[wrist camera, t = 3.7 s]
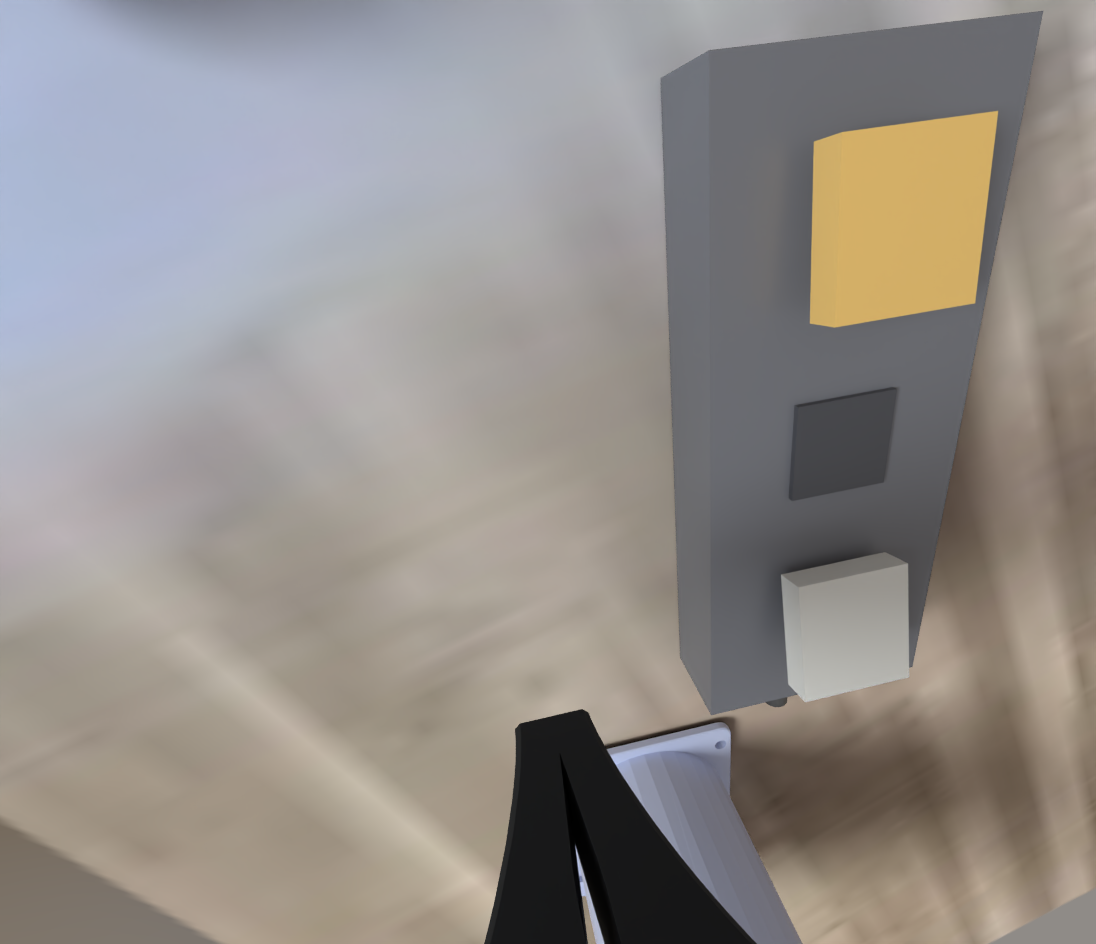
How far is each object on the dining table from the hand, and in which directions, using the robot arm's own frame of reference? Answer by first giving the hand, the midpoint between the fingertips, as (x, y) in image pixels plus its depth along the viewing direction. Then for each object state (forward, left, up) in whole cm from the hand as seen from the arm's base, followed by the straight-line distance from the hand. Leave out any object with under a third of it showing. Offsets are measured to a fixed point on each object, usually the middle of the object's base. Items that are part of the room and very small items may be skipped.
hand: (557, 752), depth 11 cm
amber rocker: (+8, -10, -6) cm, 14 cm away
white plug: (-4, -10, -6) cm, 12 cm away
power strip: (+1, -10, -9) cm, 14 cm away
